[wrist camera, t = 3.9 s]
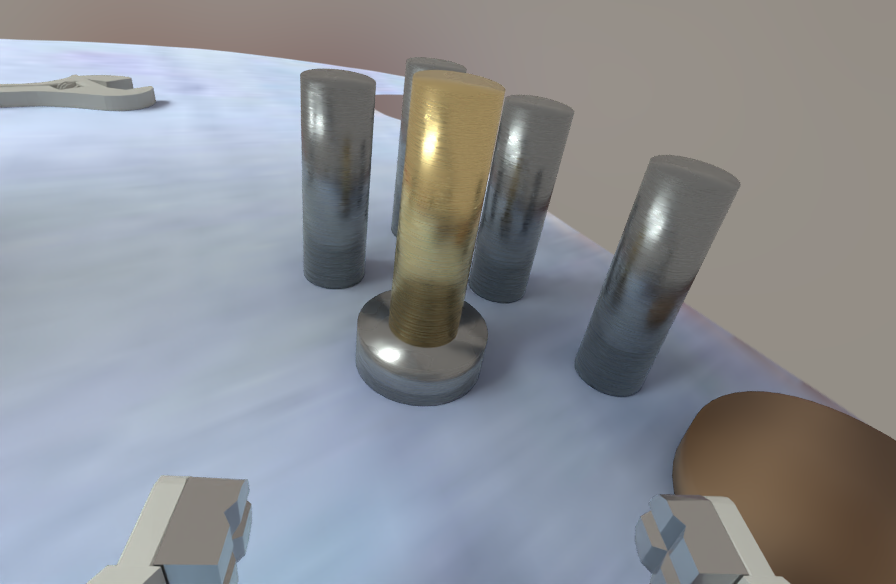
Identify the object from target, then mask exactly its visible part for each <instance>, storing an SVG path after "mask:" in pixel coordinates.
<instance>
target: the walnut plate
mask: <svg viewBox="0 0 896 584" xmlns="http://www.w3.org/2000/svg"><path fill="white" fill-rule="evenodd" d="M672 477H673V486H674V493H675V495H702V496H723V497H728V498H729V499H730V500H731V501H732V502H734V504H735V505H736V507H737V509H738V511H739V513H740V514H741V516H742V518H743V520H744V521H745V523H746V525H747V527H748V528H749V530H750V532H751V534H752V536H753V537H754V539H755V541H756V543H757V544H758V546H759V548H760V550H761V552H762V553H763V555H764V557H765V559H766V560H767V562H768V564H769V566H770V568H771V569H772V571H773V573H774V575H775V576H781V577H783V578H784V579H786V580H787V581H788V582H789V583H790V584H896V441H895V440H894V439H892V438H891V437H889V436H887V435H886V434H884V433H882V432H880V431H878V430H877V429H875V428H873V427H871V426H869V425H867V424H865V423H863V422H861V421H859V420H857V419H855V418H853V417H851V416H849V415H847V414H844V413H842V412H839V411H837V410H835V409H832V408H830V407H827V406H824V405H821V404H818V403H816V402H813V401H809V400H806V399H802V398H798V397H795V396H790V395H785V394H780V393H772V392H763V391H747V392H737V393H732V394H728V395H724V396H721V397H719V398H717V399H715V400H712V401H711V402H710V403H708V404H707V405H706V406H704V407H703V408H702V409H701V410H700V412H699V413H698V414H697V415H696V417H695V418H694V420H693V422H692V423H691V425H690V427H689V428H688V430H687V432H686V433H685V435H684V437H683V438H682V440H681V442H680V444H679V446H678V448H677V450H676V453H675V457H674V461H673V473H672Z"/></svg>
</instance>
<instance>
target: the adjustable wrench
mask: <svg viewBox="0 0 896 584" xmlns="http://www.w3.org/2000/svg"><path fill="white" fill-rule="evenodd" d="M155 103H156V100H155V95H154V89H153V87H152V86H148V87H141V88H135V89H133V84H132V79H131V78H129V77H124V76H111V75H87V76H78V75H72V76H70V77H68V78H64V79H60V80H54V81H49V82H41V83H27V84H0V108H3V107H27V106H50V107H69V108H83V109H94V110H104V111H129V110H137V109H142V108H146V107H149V106H152V105H153V104H155Z"/></svg>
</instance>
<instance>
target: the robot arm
mask: <svg viewBox="0 0 896 584" xmlns="http://www.w3.org/2000/svg"><path fill="white" fill-rule="evenodd" d="M249 490H250V489H249V483H248V479H228V478H206V477H192V476H164V475H161V477H160V478H159V479H158V480H157V482H156V483H155V484H154V486H153V488H152V490H151V492H150V494H149V496H148V499H147V501H146V503H145V505H144V507H143V509H142V512H141V514H140V516H139V518H138V520H137V522H136V525H135V527H134V529H133V531H132V533H131V535H130V538H129V540H128V542H127V544H126V546H125V548H124V551H123V553H122V555H121V557H120V559H119V561H118V564H117V565H107V566H106V567H105V568H104V569H103V570H101V571H100V572H99V573H98V574H97V575H96V576H94V577H93V578H92V579H91V580H90V581H89V582H87V583H86V584H237V583H238V580H239V579H238V572H237V565H236V563H237V562H238V561H239V560H240V559H241V558H242V557H243V556H244V555H245V553H246V549H247V545H248V541H249V536H250V530H251V524H252V506H251V503H249V502H248V501H247V498H248V494H249ZM649 507H650V509H651V511H649V512H647V513H646V514H644V515H642V516H641V517H640V519H639V520H638V522H637V524H636V527H635V544H636V550H637V553H638V556H639V559H640V562H641V563H642V564H643V565H644V566H645V567H646V568H647V569H648V570H649V571H650V572H651V573H652V575H651V579H650V583H649V584H790V583H789V582H788V581H787V580H786V579H784V578H783V577H781V576H775V575H774V573H773V571H772V569H771V568H770V566H769V564H768V562H767V560H766V559H765V557H764V555H763V553H762V552H761V550H760V548H759V546H758V544H757V543H756V541H755V539H754V537H753V536H752V534H751V532H750V530H749V528H748V527H747V525H746V523H745V521H744V520H743V518H742V516H741V514H740V513H739V511H738V509H737V507H736V505H735V504H734V502H732V501H731V500H730V499H729V498H728V497H723V496H702V495H670V494H658V495H656V496H653V497H652V499H651V501H650V502H649Z"/></svg>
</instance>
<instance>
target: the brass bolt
mask: <svg viewBox="0 0 896 584" xmlns="http://www.w3.org/2000/svg"><path fill="white" fill-rule="evenodd" d="M504 94H505V88H504V87H503V86H502V85H500V84H499V83H497V82H494V81H492V80H490V79H487V78H484V77H480V76H476V75H472V74H467V73H462V72H455V71H446V70H424V71H419V72H416V73H414V74H413V80H412V90H411V100H410V110H409V120H408V130H407V140H406V151H405V161H404V171H403V181H402V191H401V201H400V211H399V221H398V231H397V242H396V252H395V262H394V272H393V282H392V290H390V291H386V292H384V293H381V294H379V295H377V296H375V297H374V298H372V299H371V300H369V301H368V302H367V303H366V304H365V305H364V307H363V308H362V309H361V311H360V313H359V316H358V323H357V341H356V367H357V369H358V372H359V374H360V376H361V377H362V379H363V380H364V381H365V383H366V384H367V385H368V386H369V387H370V388H372V389H373V390H374V391H376V392H377V393H379V394H380V395H382V396H384V397H386V398H388V399H390V400H393V401H396V402H399V403H403V404H408V405H415V406H434V405H440V404H445V403H448V402H451V401H454V400H456V399H458V398H460V397H462V396H463V395H465V394H466V393H467V392H468V391H469V390H471V388H472V387H473V386H474V385H475V383H476V381H477V379H478V376H479V372H480V368H481V364H482V360H483V356H484V352H485V348H486V343H487V338H488V330H487V326H486V323H485V321H484V319H483V318H482V316H481V315H480V314H479V312H478V311H477V310H476V309H475V308H473V307H472V306H471V305H470V304H468V303H467V302H466V301H464V298H465V292H466V287H467V282H468V277H469V272H470V267H471V262H472V257H473V252H474V247H475V242H476V237H477V232H478V226H479V221H480V216H481V211H482V206H483V201H484V196H485V191H486V186H487V181H488V176H489V170H490V165H491V160H492V155H493V150H494V145H495V140H496V135H497V130H498V125H499V120H500V115H501V110H502V104H503V99H504Z"/></svg>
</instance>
